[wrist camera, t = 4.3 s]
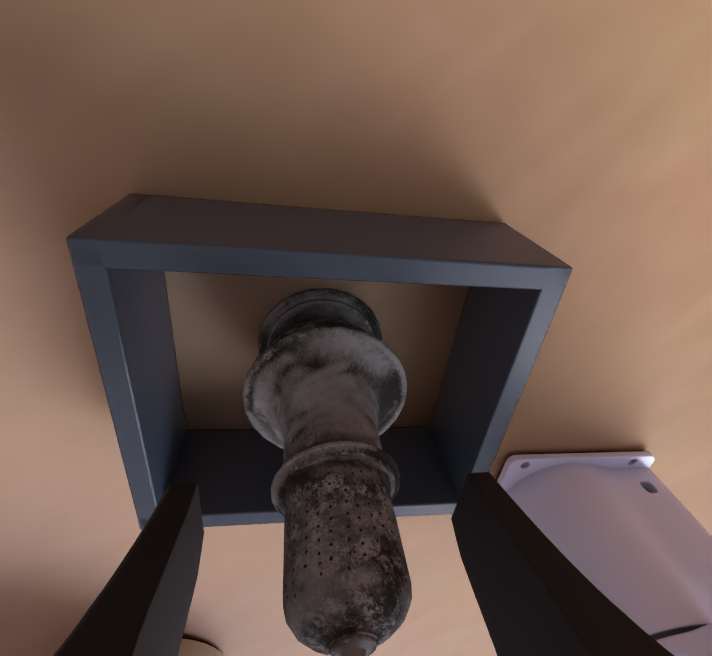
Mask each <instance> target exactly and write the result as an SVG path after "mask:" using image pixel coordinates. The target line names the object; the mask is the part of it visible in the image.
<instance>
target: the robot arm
mask: <svg viewBox="0 0 712 656" xmlns="http://www.w3.org/2000/svg"><path fill="white" fill-rule="evenodd" d="M653 461H654V456H653V455H652V454H651V453H650V452H648V451H637V452H600V453H562V454H524V455H512V456H510V457H509V458H508V459H507V460H506V462H505V464H504V467H503V469H502V471H501V474H500V476H499V478H498V481H496V480H495V479H494V478H493V476H492V475H491V474H490V473H489V472H478V473H468V475H467V478H466V481H465V483H464V486H463V489H462V491H461V494H460V497H459V499H458V502H457V505H456V507H455V510H454V513H453V515H452V518H451V519H452V523H453V527H454V532H455V536H456V540H457V544H458V547H459V551H460V555H461V558H462V561H463V564H464V567H465V570H466V572H467V575H468V578H469V580H470V583H471V586H472V589H473V591H474V594H475V597H476V599H477V602H478V605H479V607H480V610H481V612H482V615H483V618H484V620H485V623H486V626H487V628H488V631H489V634H490V636H491V639H492V642H493V644H494V647H495V650H496V653H497V656H712V536H711V535H710V534H709V533H708V532H707V530H706V529H705V528H704V527H703V526H702V525H701V524H700V523H699V522H698V521H697V520H696V519H695V517H694V516H693V515H692V514H691V513H690V512H689V511H688V510H687V509H686V508H685V507H684V506H683V504H682V503H681V502H680V501H679V500H678V499H677V498H676V497H675V496H674V495H673V494H672V493H671V492H670V490H669V489H668V488H667V487H666V486H665V485H664V484H663V483H662V482H661V481H660V480H659V479H658V477H657V476H656V475H655V474H654V473H653V472H652V471H651V470H650V469H649V467H650V466H651V464H652V463H653ZM203 535H204V529H203V521H202V514H201V506H200V498H199V490H198V483H173V484H170V485H169V486H168V487H167V488H166V490H165V492H164V494H163V496H162V498H161V499H160V501H159V503H158V505H157V506H156V508H155V510H154V512H153V513H152V515H151V517H150V518H149V520H148V522H147V523H146V525H145V527H144V528H143V530H142V531H141V533H140V535H139V536H138V538H137V539H136V541H135V543H134V544H133V546H132V547H131V549H130V550H129V552H128V553H127V555H126V556H125V558H124V559H123V561H122V562H121V564H120V565H119V567H118V568H117V570H116V571H115V573H114V574H113V576H112V577H111V579H110V580H109V582H108V583H107V584H106V586H105V587H104V589H103V590H102V591H101V593H100V594H99V595H98V597H97V598H96V600H95V601H94V602H93V604H92V605H91V607H90V608H89V609H88V611H87V612H86V613H85V615H84V616H83V618H82V619H81V620H80V622H79V623H78V624H77V626H76V627H75V628H74V630H73V631H72V632H71V634H70V635H69V636H68V638H67V639H66V640H65V641H64V643H63V644H62V645H61V647H60V648H59V649H58V650H57V652H56V653H55V654H54V655H53V656H178V653H179V649H180V645H181V641H182V637H183V633H184V629H185V625H186V621H187V617H188V613H189V609H190V605H191V601H192V596H193V592H194V588H195V584H196V580H197V575H198V569H199V563H200V556H201V549H202V542H203Z"/></svg>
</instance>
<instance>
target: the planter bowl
mask: <svg viewBox="0 0 712 656" xmlns="http://www.w3.org/2000/svg"><path fill="white" fill-rule="evenodd" d="M178 656H223V654H222V653H221V652H220V651H219V650H217V649H216V648H214V647H212V646H210V645H208V644H205V643H202V642H199V641H194V640H189V639H182V641H181V645H180V649H179V653H178Z"/></svg>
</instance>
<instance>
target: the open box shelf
mask: <svg viewBox="0 0 712 656" xmlns="http://www.w3.org/2000/svg"><path fill="white" fill-rule="evenodd" d="M66 240H67V244H68V248H69V252H70V256H71V260H72V264H73V267H74V271H75V275H76V279H77V283H78V287H79V291H80V295H81V299H82V303H83V307H84V310H85V314H86V318H87V322H88V326H89V330H90V334H91V338H92V342H93V346H94V349H95V353H96V357H97V361H98V365H99V369H100V373H101V377H102V381H103V385H104V388H105V392H106V396H107V400H108V404H109V408H110V412H111V416H112V420H113V424H114V428H115V431H116V435H117V439H118V443H119V447H120V451H121V455H122V459H123V463H124V467H125V470H126V474H127V478H128V482H129V486H130V490H131V494H132V498H133V502H134V506H135V509H136V513H137V517H138V521H139V525H140V529H141V530H143V528H144V527H145V525H146V523H147V522H148V520H149V518H150V517H151V515H152V513H153V512H154V510H155V508H156V506H157V505H158V503H159V501H160V499H161V498H162V496H163V494H164V492H165V490H166V488H167V487H168V486H169V485H170V484H173V483H198V490H199V498H200V506H201V514H202V521H203V527H211V526H230V525H249V524H268V523H285V518H284V517H283V516H282V515H281V514H280V513H279V512H278V511H277V510H276V508H275V506H274V504H273V503H272V499H271V485H272V482H273V479H274V476H275V475H276V473H277V472H278V471H279V469H280V468H281V467H282V465H283V450H284V449H283V448H280V447H278V446H277V445H275V444H273V443H272V442H270V441H268V440H267V439H265V438H264V437H263V436H262V435H261V434H260V433H259V432H258V431H257V430H210V431H186V428H185V421H184V414H183V406H182V399H181V392H180V384H179V377H178V369H177V362H176V355H175V347H174V340H173V333H172V325H171V318H170V311H169V303H168V296H167V289H166V281H165V274H164V271H176V272H196V273H216V274H236V275H255V276H275V277H295V278H315V279H335V280H355V281H375V282H395V283H415V284H435V285H455V286H469V290H468V294H467V297H466V301H465V304H464V308H463V311H462V315H461V319H460V322H459V326H458V329H457V333H456V337H455V340H454V344H453V347H452V351H451V354H450V358H449V362H448V365H447V369H446V372H445V376H444V379H443V383H442V387H441V390H440V394H439V397H438V401H437V405H436V408H435V412H434V415H433V419H432V422H431V426H430V428H388V429H387V430H386V431H385V432H384V433H383V434H381V435H380V436H379V438H380V442H381V446H382V450H383V451H384V452H386V453H387V454H389V455H390V456H391V457H392V459H393V460H394V461H395V463H396V464H397V466H398V469H399V474H400V478H401V479H400V485H399V490H398V492H397V493H396V495H395V497H394V499H393V500H392V504H393V508H394V512H395V516H396V517H402V516H421V515H440V514H453V513H454V510H455V507H456V505H457V502H458V499H459V497H460V494H461V491H462V489H463V486H464V483H465V481H466V478H467V475H468V473H478V472H489V471H490V469H491V466H492V464H493V461H494V459H495V457H496V454H497V452H498V449H499V447H500V444H501V442H502V440H503V437H504V435H505V432H506V430H507V427H508V425H509V422H510V420H511V418H512V415H513V413H514V410H515V408H516V405H517V403H518V401H519V398H520V396H521V393H522V391H523V388H524V386H525V384H526V381H527V379H528V376H529V374H530V371H531V369H532V366H533V364H534V362H535V359H536V357H537V354H538V352H539V349H540V347H541V345H542V342H543V340H544V337H545V335H546V332H547V330H548V328H549V325H550V323H551V320H552V318H553V315H554V313H555V310H556V308H557V306H558V303H559V301H560V298H561V296H562V293H563V291H564V289H565V286H566V284H567V281H568V279H569V276H570V274H571V272H572V267H570V266H569V265H567V264H566V263H564V262H563V261H561V260H560V259H558V258H557V257H555V256H554V255H552V254H551V253H549V252H548V251H546V250H545V249H543V248H542V247H540V246H539V245H537V244H536V243H534V242H533V241H531V240H530V239H528V238H526V237H525V236H523V235H522V234H520V233H519V232H517V231H516V230H514V229H513V228H511V227H510V226H508V225H507V224H505V223H493V222H478V221H465V220H453V219H440V218H428V217H415V216H403V215H390V214H377V213H365V212H352V211H340V210H327V209H315V208H302V207H290V206H277V205H265V204H252V203H240V202H227V201H215V200H202V199H190V198H177V197H165V196H152V195H140V194H129V195H128V196H126V197H125V198H123V199H122V200H120V201H119V202H117V203H116V204H114V205H113V206H111V207H110V208H108V209H107V210H105V211H104V212H102V213H101V214H99V215H98V216H96V217H95V218H93V219H92V220H91V221H89V222H88V223H86V224H85V225H83V226H82V227H80V228H79V229H77V230H76V231H74V232H73V233H71V234H70V235H68V236H67V239H66Z"/></svg>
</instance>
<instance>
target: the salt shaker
mask: <svg viewBox="0 0 712 656" xmlns="http://www.w3.org/2000/svg"><path fill="white" fill-rule="evenodd" d="M259 351H260V355H259V356H258V357H257V358H256V360H255V362H254V363H253V365H252V367H251V368H250V370H249V371H248V373H247V375H246V380H245V384H244V388H243V393H242V394H243V403H244V410H245V412H246V414H247V417H248V419H249V421H250V423H251V425H252V426H253V427H254V428H255V429H256V430H257V431H258V432H259V433H260V434H261V435H262V436H263V437H264V438H265V439H267V440H268V441H270V442H272V443H273V444H275V445H277V446H278V447H280V448H283V449H284V450H283V465H282V467H281V468H280V469H279V471H278V472H277V473H276V475H275V476H274V479H273V482H272V485H271V499H272V503H273V504H274V506H275V508H276V510H277V511H278V512H279V513H280V514H281V515H282V516H283V517H284V518H285V524H284V571H283V609H284V614H285V619H286V623H287V625H288V626H289V628H290V629H291V631H292V632H293V634H294V635H295V637H296V638H297V639H298V641H299V642H301V643H302V644H304V645H305V646H307V647H309V648H311V649H312V650H314V651H316V652H318V653H321V654H325V655H331V656H369V655H371V654H372V653H373V652H374V651H375V650H376V647H377V646H378V645H380V644H382V643H383V642H385V641H386V640H387V639H388V638H390V637H391V636H392V634H393V633H394V632H395V631H396V630H397V629H398V628H399V627H400V626H401V624H402V623H403V622H404V620H405V617H406V615H407V612H408V609H409V607H410V603H411V599H412V590H411V580H410V576H409V572H408V568H407V563H406V559H405V555H404V550H403V546H402V542H401V538H400V533H399V529H398V525H397V521H396V516H395V512H394V508H393V504H392V500H393V499H394V497H395V495H396V493H397V492H398V490H399V485H400V479H401V478H400V474H399V469H398V466H397V464H396V463H395V461H394V460H393V459H392V457H391V456H390V455H389V454H387V453H386V452H384V451H383V450H382V446H381V442H380V438H379V436H380V435H381V434H383V433H384V432H385V431H386V430H387V429H388V428H389V427H390V426H391V425H392V423H393V422H394V421H395V420H396V419H397V418H398V416H399V414H400V412H401V409H402V407H403V405H404V403H405V399H406V392H407V381H406V376H405V371H404V368H403V366H402V364H401V363H400V361H399V359H398V357H397V356H396V354H395V353H394V352H393V351H392V350H391V349H390V348H389V347H388V346H387V345H386V344H384V343H383V342H382V335H381V330H380V326H379V322H378V321H377V319H376V317H375V315H374V314H373V312H372V310H371V309H370V308H369V307H368V306H367V305H365V304H364V303H363V302H362V301H361V300H360V299H358V298H356V297H354V296H352V295H350V294H348V293H346V292H341V291H337V290H333V289H312V290H308V291H304V292H300V293H296V294H294V295H292V296H291V297H289V298H287V299H285V300H283V301H281V302H280V303H279V304H278V305H277V306H276V307H275V308H274V309H273V310H272V311H271V312H270V313H269V314H268V316H267V318H266V319H265V321H264V323H263V324H262V328H261V332H260V336H259Z"/></svg>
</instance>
